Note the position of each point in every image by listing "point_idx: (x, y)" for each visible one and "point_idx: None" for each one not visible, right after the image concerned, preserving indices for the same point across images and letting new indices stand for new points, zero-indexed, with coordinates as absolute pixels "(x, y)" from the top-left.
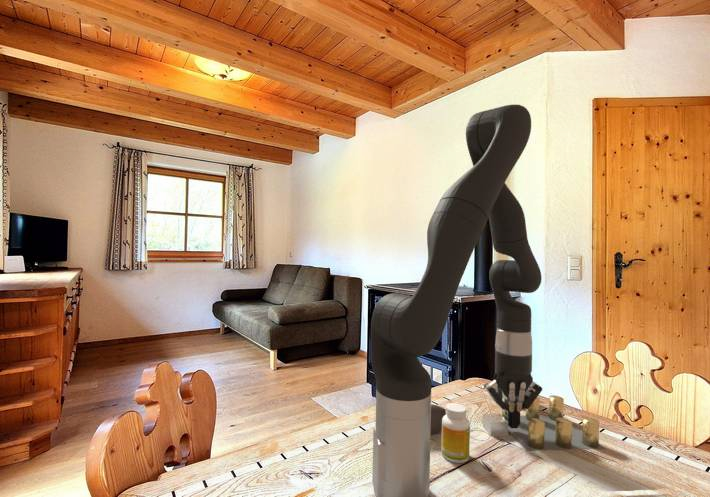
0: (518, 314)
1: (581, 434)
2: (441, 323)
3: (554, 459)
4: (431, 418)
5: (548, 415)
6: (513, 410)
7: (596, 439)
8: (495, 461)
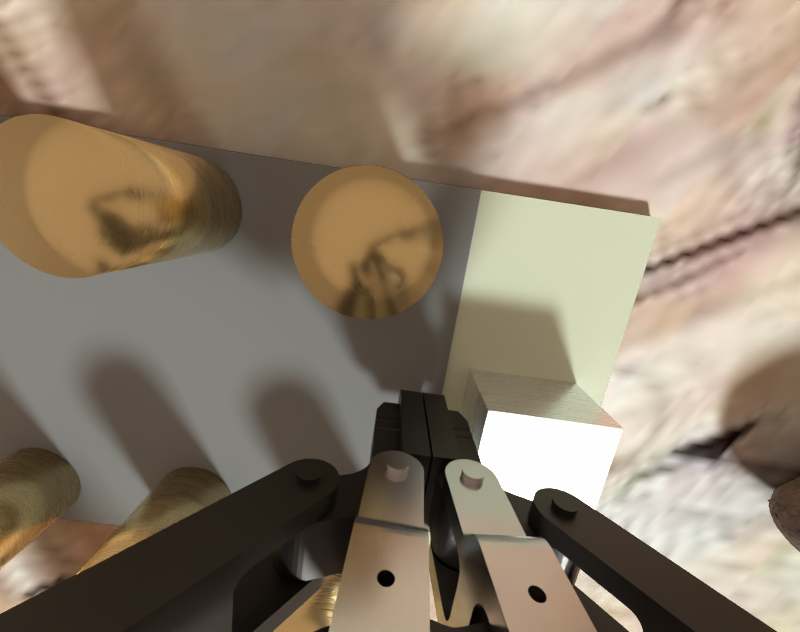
0: None
1: None
2: None
3: (353, 97)
4: None
5: (69, 516)
6: (452, 469)
7: None
8: (723, 155)
